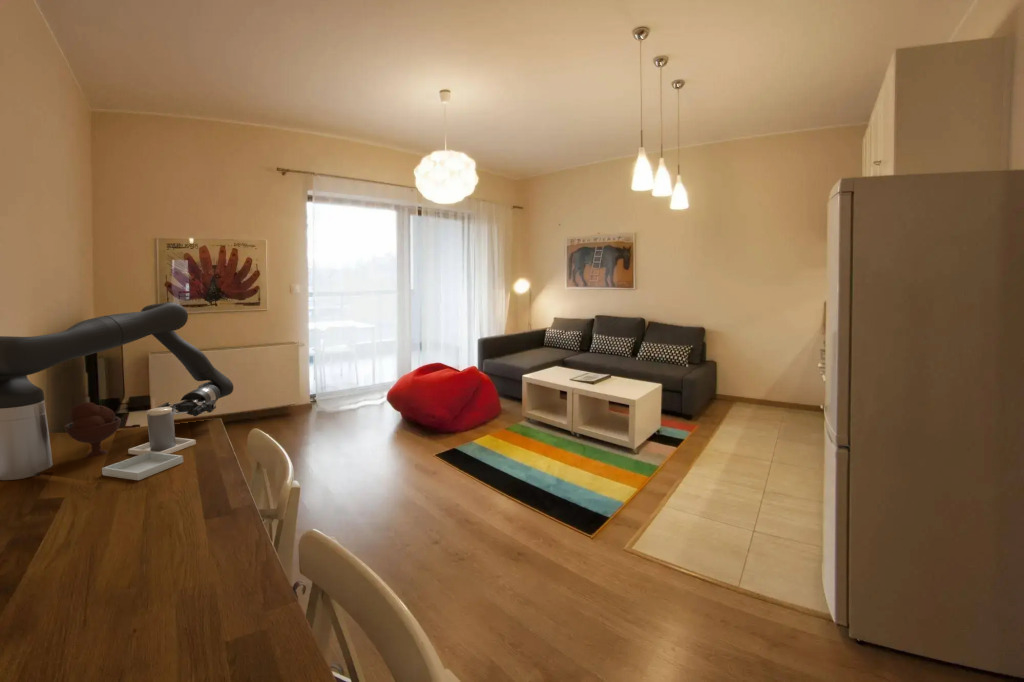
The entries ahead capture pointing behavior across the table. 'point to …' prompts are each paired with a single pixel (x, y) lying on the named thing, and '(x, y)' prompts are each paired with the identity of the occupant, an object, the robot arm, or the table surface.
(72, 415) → the ice cream bowl
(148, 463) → the glazed dish
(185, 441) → the tray
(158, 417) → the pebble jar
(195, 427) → the table surface
